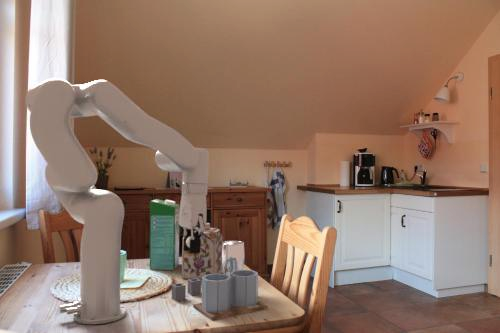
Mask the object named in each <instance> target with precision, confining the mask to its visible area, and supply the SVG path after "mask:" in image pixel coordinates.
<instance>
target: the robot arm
mask: <svg viewBox="0 0 500 333" xmlns="http://www.w3.org/2000/svg"><path fill="white" fill-rule="evenodd" d="M25 105H26V107H27V109H28V111H29V112H30V116H29V129H30V134H31V137H32V141H33V142H34V144H35V146H36V148H37V150H38V151H39V152H40V153H39V154H41V156H42V157H43V159H44V161H45V162H46V163H47V164H46V166H45V170H44V172H45V173H44V175H45V180H46V183H47V184H48V186H49V188H50V189H51V191H52V192H53V193H54V195H55V197H56V198H57V199H58V201H60V203H61V205H62V206H63V208H64V209H65V210H66V211H67V213H68V214H69V215H70V217H71V218H72V219H73V220H75V221H76V222H77V223H80V224H82V225H83V229H82V234H81V239H80V278H79V279H80V283H79V284H80V286H79V288H80V291H79V292H80V294H79V296H80V297H77V301H73V303H69V304H68V303H66V304H65V303H64V304H60V305H59V307H58V308H59V314H65V313H66V315H72V314H73V320H74V321H75V322H76V323H79V324H83V325H103V324H109V323H112V322H116V321H118V320H121V319H123V318H124V317H125V316H126V315H127V314H128V313H127V310H128V309H127V307H126V306H125V305H123V304H121V279H122V278H121V270H122V269H121V268H122V267H121V262H122V259H121V258H122V254H121V252H122V251H121V250H122V249H121V248H122V245H121V244H122V230H123V224H124V218H125V206H124V203H123V200H122V199H121V198H120V196H118V195H117V194H116V193H114V192H112V191H110V190H106V189H97V187H96V186H95V185H96V184H97V181H98V170H97V167H96V166H95V164H94V162H93V161H92V160H91V158H90V157H89V155H88V154H87V153H86V151H85V149H84V147H83V146H82V144H81V143H80V142H79V140H78V138H77V136H76V135H75V133H74V131H73V128H72V126H71V119H72V118H73V119H74V118H85V117H94V116H98V117H99V118H100V119H101V120H103V121H104V122H105V123H107V124H108V125H109V126H110V127H111V128H113V129H114V130H115V131H116V132H118V134H120V135H121V136H122V137H123V138H125V139H126V140H128V141H131V142H133V143H135V144H138V145H142V146H145V147H149V148H151V149H153V150H155V151H156V152H155V156H154V161H155V164H156V165H157V167H158V168H159V169H160V170H162V171H166V172H179V173H180V172H181V173H182V177H181V179H182V180H181V198H180V204H179V227H182V229H183V237H184V248H183V250H184V251H189V253H191V254H192V253H200V244H201V238H202V234H203V233H204V231H205V229H204V228H205V226H206V223H207V216H208V215H207V214H208V213H207V212H208V211H207V195H208V187H209V186H208V181H209V179H208V178H209V166H210V164H209V163H210V159H209V158H210V153H209V151H208V149H206V148H202V147H194V145H193V144H192V143H191V142H190V141H189V140H188V139H187V138H185V137H184V136H183V135H182V134H181V133H180V132H178V131H177V130H175V129H174V128H172V127H171V126H168V125H167V124H165V123H164V122H161V121H160V120H158V119H156V118H154V117H152V116H150V115H149V114H148V113H147V112H146V111H144V110H143V109H141V107H140V106H138V105H137V104H136V102H134V101H133V100H131V99H130V98H129V97H128V96H127V95H126V94H124V92H123V91H121V90H120V89H119V88H118V87H117V86H116V85H114V83H112V82H110V81H108V80H105V79H98V80H94V81H91V82H88V83H87V82H86V83H84V84H71V83H70V82H68V81H67V80H65V79H63V78H58V77H57V78H56V77H53V78H49V79H45V80H43V81H41V82H39V83H37V84H35V85H33V86H32V87H31V88H29V90H28V91H27V92H26V95H25ZM196 227H197V228H198V229H194V228H196ZM190 229H191V230H190ZM195 231H196V232H195ZM190 236H191V239H190V248H189V247H188V246H187V245H186V240H187V238H188V237H190Z"/></svg>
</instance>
